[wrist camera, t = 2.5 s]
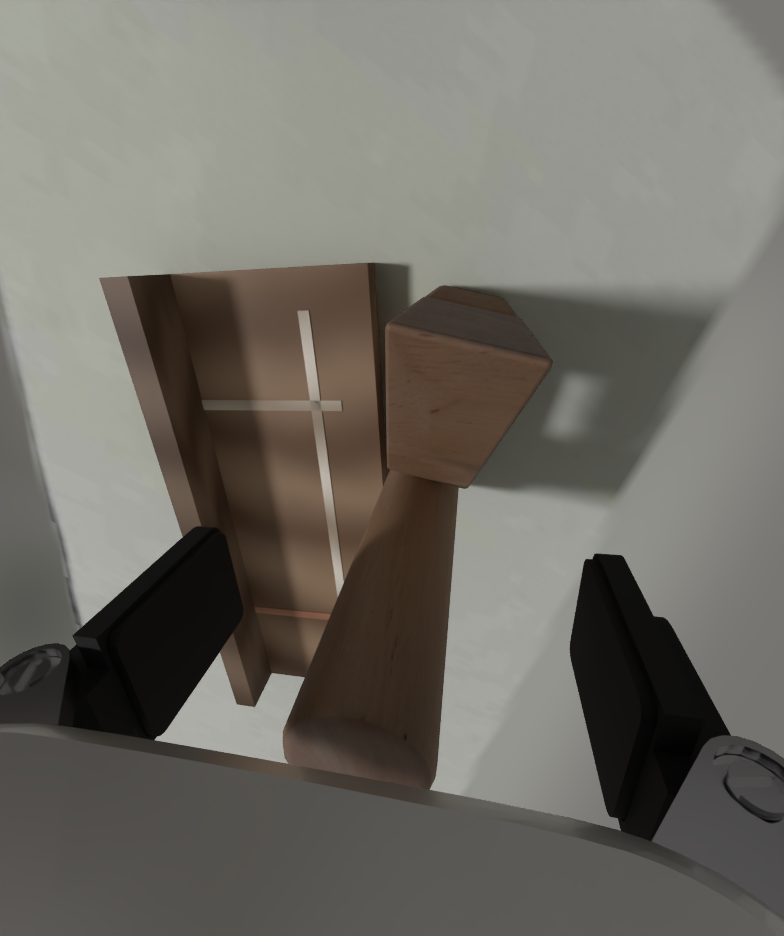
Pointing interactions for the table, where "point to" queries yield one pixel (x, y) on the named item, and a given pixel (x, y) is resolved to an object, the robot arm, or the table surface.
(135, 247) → the table surface
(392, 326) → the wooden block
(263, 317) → the marking board
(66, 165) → the table surface
